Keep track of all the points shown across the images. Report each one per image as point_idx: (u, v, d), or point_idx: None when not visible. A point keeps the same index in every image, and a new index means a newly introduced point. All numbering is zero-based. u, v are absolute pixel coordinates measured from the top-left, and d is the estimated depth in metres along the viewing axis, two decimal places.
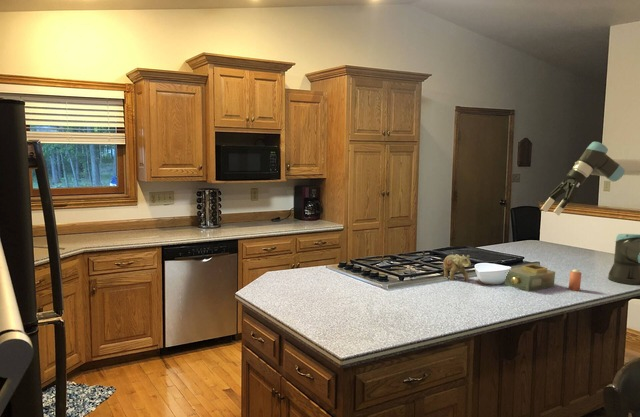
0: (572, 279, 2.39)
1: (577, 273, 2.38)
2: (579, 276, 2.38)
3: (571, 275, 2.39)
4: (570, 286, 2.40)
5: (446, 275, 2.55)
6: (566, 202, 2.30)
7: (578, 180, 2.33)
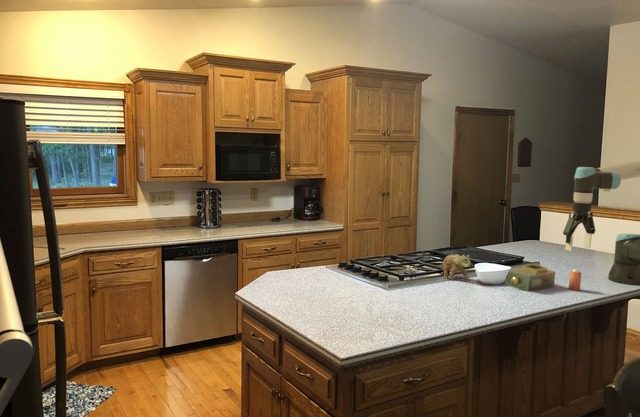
0: (572, 279, 2.39)
1: (577, 273, 2.38)
2: (579, 276, 2.38)
3: (571, 275, 2.39)
4: (570, 286, 2.40)
5: (446, 275, 2.55)
6: (567, 236, 2.34)
7: (576, 210, 2.34)
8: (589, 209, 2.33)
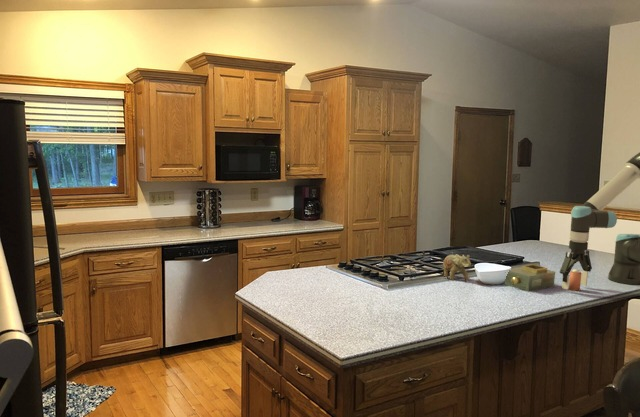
0: (572, 279, 2.39)
1: (577, 273, 2.38)
2: (579, 276, 2.38)
3: (571, 275, 2.39)
4: (570, 286, 2.40)
5: (446, 275, 2.55)
6: (564, 275, 2.36)
7: (573, 249, 2.37)
8: (585, 248, 2.35)
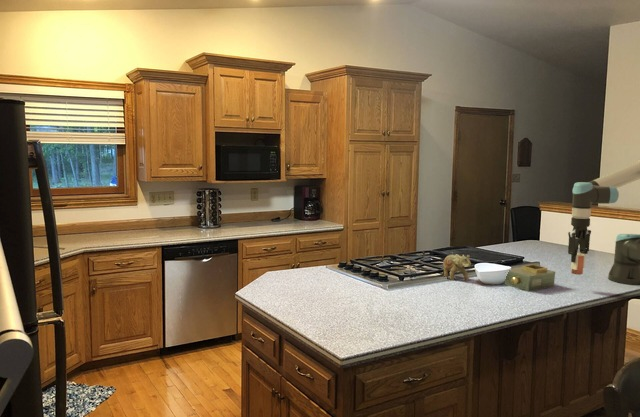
0: None
1: (579, 256, 2.37)
2: (582, 259, 2.37)
3: None
4: (573, 270, 2.39)
5: (446, 275, 2.55)
6: (572, 256, 2.37)
7: (575, 225, 2.35)
8: (588, 224, 2.34)
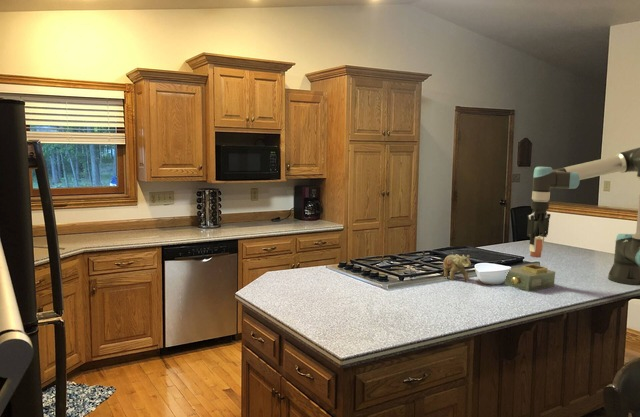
0: None
1: (538, 240, 2.43)
2: (540, 243, 2.43)
3: None
4: (531, 253, 2.45)
5: (446, 275, 2.55)
6: (531, 238, 2.43)
7: (534, 208, 2.41)
8: (546, 207, 2.40)
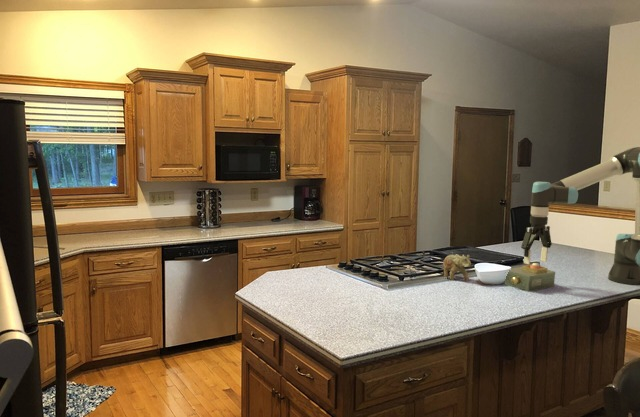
0: None
1: (536, 267, 2.45)
2: None
3: None
4: None
5: (446, 275, 2.55)
6: (525, 250, 2.42)
7: (533, 223, 2.42)
8: (545, 223, 2.41)
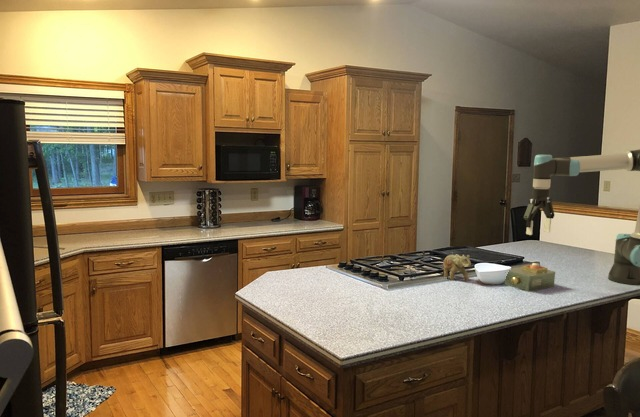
0: None
1: (536, 266, 2.45)
2: None
3: None
4: None
5: (446, 275, 2.55)
6: (527, 221, 2.45)
7: (536, 196, 2.45)
8: (547, 194, 2.44)
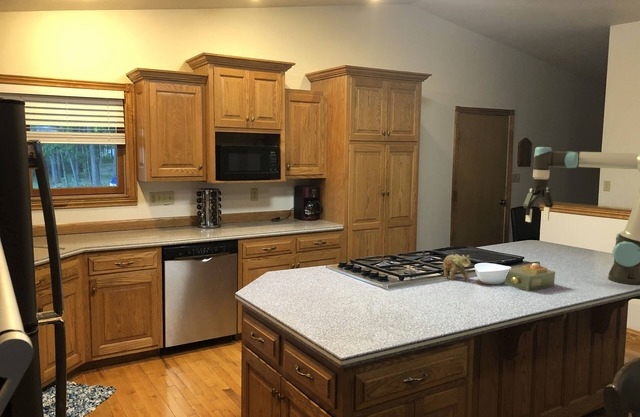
0: None
1: (536, 266, 2.45)
2: None
3: None
4: None
5: (446, 275, 2.55)
6: (527, 209, 2.60)
7: (535, 185, 2.61)
8: (546, 184, 2.60)
